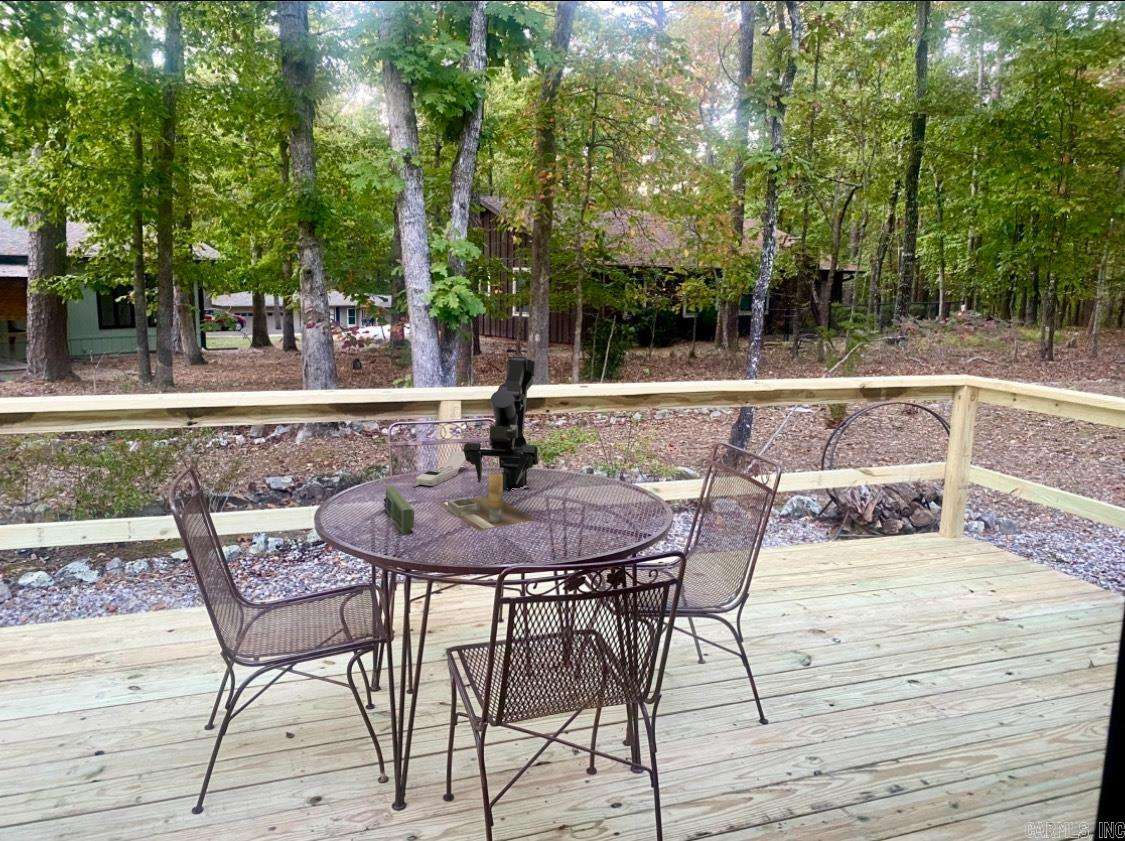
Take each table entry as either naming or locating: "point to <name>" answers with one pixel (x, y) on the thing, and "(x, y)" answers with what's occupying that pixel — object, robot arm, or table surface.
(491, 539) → the table surface
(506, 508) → the board
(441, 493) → the table surface
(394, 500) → the handheld radio
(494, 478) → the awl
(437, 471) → the mobile phone
